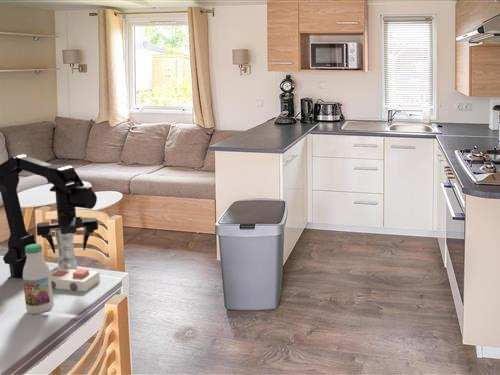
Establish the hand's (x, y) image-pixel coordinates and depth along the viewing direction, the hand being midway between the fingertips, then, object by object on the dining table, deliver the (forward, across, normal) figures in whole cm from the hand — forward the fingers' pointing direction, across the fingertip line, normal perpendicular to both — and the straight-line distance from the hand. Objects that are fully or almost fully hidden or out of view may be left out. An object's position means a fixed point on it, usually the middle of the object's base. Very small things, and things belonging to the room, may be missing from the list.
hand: (69, 251), depth 179 cm
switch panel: (+12, 0, 0) cm, 12 cm away
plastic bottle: (+12, 0, +14) cm, 19 cm away
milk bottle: (+12, -10, -15) cm, 22 cm away
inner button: (+10, -3, +2) cm, 11 cm away
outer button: (+8, +3, -2) cm, 9 cm away
